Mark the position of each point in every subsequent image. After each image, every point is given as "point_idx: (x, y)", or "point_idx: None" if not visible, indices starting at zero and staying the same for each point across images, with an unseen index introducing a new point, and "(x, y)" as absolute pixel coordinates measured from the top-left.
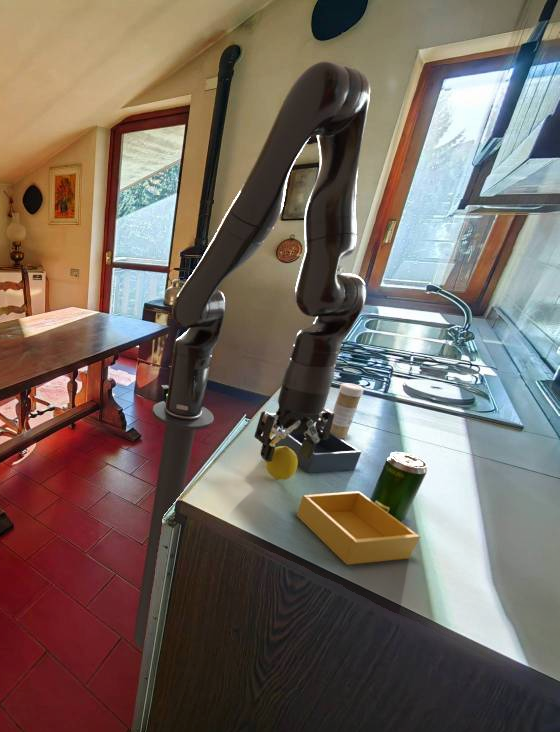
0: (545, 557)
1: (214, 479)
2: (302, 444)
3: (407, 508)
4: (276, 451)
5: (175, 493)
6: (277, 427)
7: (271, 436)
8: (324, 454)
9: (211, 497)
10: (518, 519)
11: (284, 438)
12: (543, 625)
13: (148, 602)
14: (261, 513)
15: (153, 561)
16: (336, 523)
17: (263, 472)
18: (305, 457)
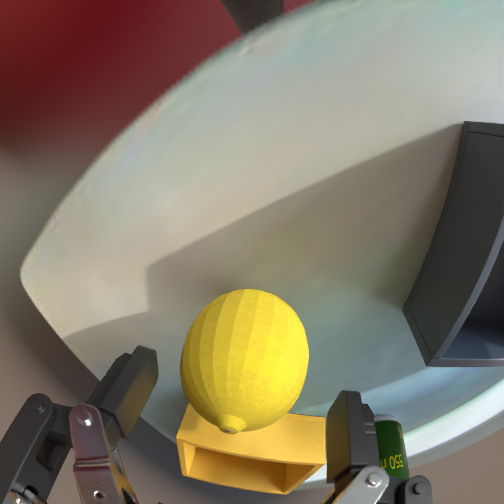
0: (432, 460)
1: (69, 236)
2: (348, 433)
3: None
4: (188, 394)
5: (245, 18)
6: (120, 499)
7: (109, 445)
8: (459, 366)
9: (51, 288)
10: (493, 426)
11: (493, 178)
12: (314, 487)
13: None
14: None
15: None
16: (183, 465)
17: (244, 258)
18: (330, 411)
